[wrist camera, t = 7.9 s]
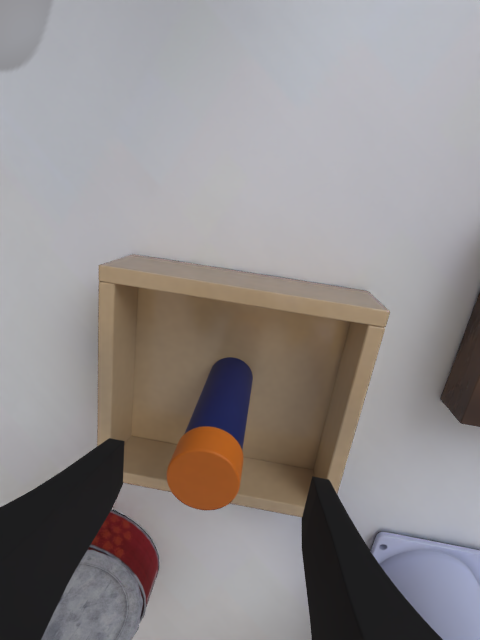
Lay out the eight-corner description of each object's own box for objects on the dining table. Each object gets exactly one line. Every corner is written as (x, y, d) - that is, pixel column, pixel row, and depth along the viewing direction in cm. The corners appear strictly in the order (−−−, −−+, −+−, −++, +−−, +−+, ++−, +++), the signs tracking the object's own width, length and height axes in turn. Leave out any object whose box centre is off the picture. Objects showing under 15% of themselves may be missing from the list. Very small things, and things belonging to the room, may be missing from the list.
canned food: (80, 472, 32) (-4, 511, 22) (184, 511, 30) (144, 571, 20) (31, 606, 30) (-84, 713, 20) (139, 653, 29) (72, 793, 19)
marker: (250, 400, 21) (234, 517, 13) (206, 392, 22) (163, 503, 14) (257, 359, 21) (245, 457, 12) (211, 351, 21) (168, 443, 13)
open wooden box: (321, 472, 23) (329, 523, 20) (124, 435, 24) (96, 478, 20) (368, 291, 19) (390, 311, 16) (131, 253, 20) (97, 264, 16)
